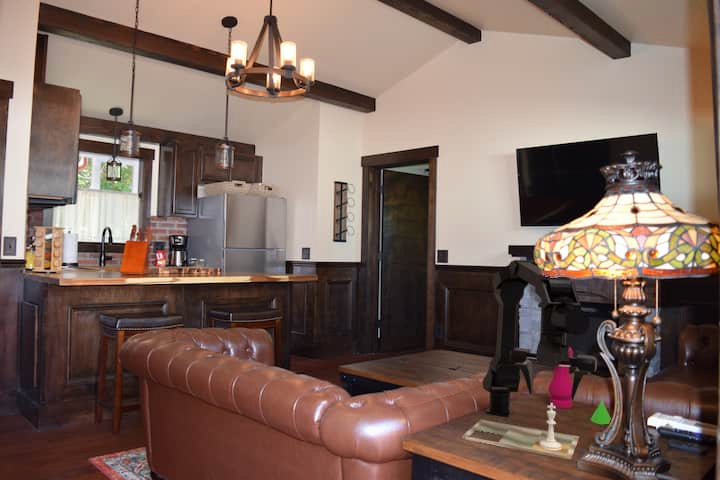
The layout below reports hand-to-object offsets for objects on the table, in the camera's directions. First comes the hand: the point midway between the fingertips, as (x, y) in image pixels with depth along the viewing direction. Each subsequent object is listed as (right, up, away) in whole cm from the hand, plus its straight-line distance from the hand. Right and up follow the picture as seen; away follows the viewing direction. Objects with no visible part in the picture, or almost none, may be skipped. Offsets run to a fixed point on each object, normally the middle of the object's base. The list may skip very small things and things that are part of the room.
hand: (551, 396), depth 127 cm
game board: (-5, -12, +6) cm, 14 cm away
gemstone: (+22, -14, +23) cm, 35 cm away
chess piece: (-1, -12, -1) cm, 12 cm away
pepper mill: (+16, -14, +39) cm, 44 cm away
